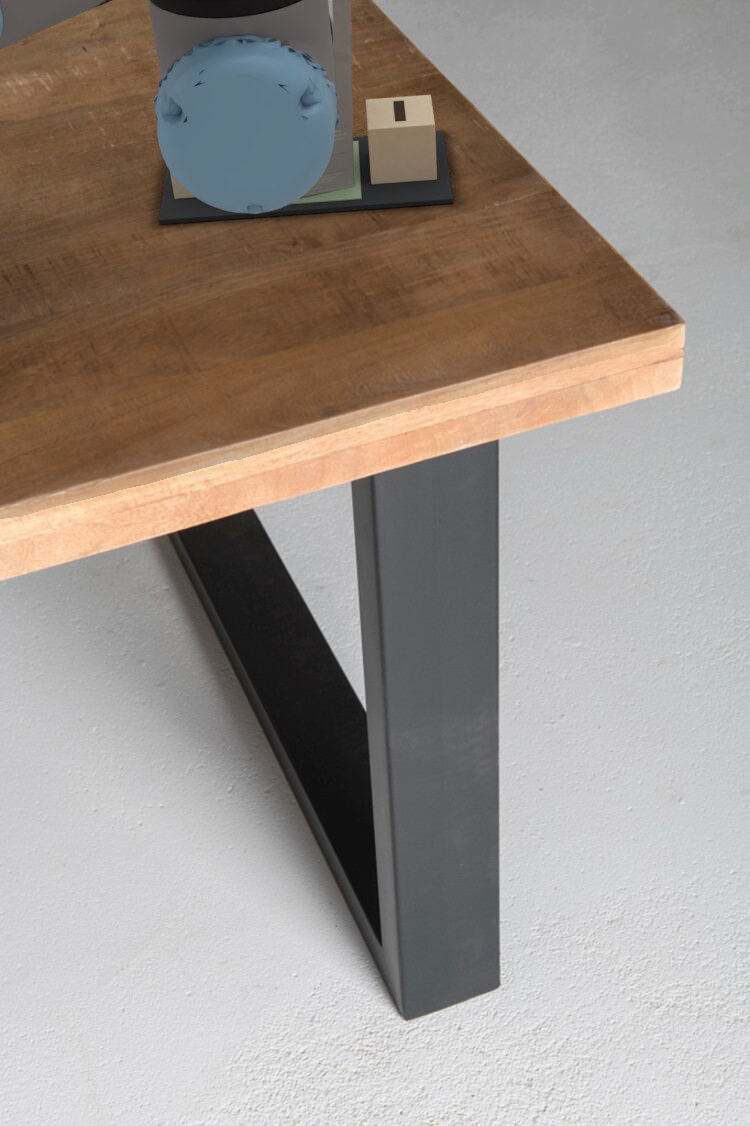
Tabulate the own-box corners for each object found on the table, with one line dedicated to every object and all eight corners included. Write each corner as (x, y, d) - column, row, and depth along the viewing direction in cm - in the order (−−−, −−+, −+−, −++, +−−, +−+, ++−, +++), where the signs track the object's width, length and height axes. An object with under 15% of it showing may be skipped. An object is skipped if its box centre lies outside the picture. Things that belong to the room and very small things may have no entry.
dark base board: (159, 224, 106) (148, 163, 102) (169, 155, 114) (159, 95, 110) (453, 203, 105) (451, 140, 102) (442, 135, 113) (441, 75, 110)
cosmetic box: (247, 158, 111) (220, -48, 100) (333, 140, 113) (316, -65, 102) (277, 207, 105) (251, -6, 94) (367, 187, 107) (353, -25, 96)
